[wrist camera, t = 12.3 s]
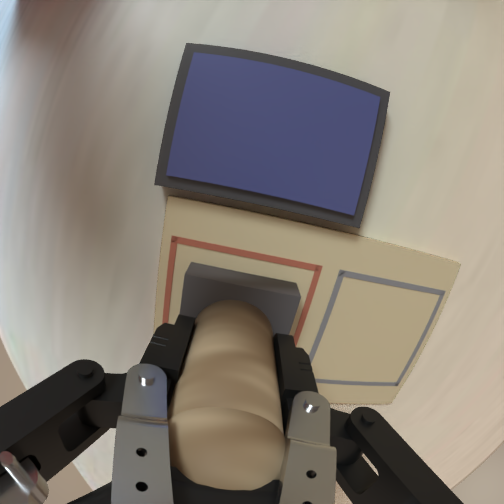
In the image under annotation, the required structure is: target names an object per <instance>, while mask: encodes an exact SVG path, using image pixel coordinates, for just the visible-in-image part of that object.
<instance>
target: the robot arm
mask: <svg viewBox="0 0 504 504" xmlns="http://www.w3.org/2000/svg"><path fill="white" fill-rule="evenodd" d="M194 325H195V317H190V316H185V315H181V314H179V315H178V317H177V319H176V322H175V324H174V325H173V324H169V323H163V324H162V325H160V326H159V327H157V329H156V331H155V333H154V335H153V337H152V339H151V341H150V343H149V345H148V347H147V349H146V351H145V353H144V355H143V357H142V359H141V361H140V363H139V364H137V365H135V366H133V367H131V368H130V369H129V370H128V372H127V373H124V374H111V373H104V370H103V368H102V367H101V365H99V364H98V363H97V362H95V361H92V360H85V359H83V360H77V361H75V362H73V363H71V364H69V365H68V366H66V367H64V368H63V369H61V370H60V371H58V372H56V373H55V374H53V375H51V376H50V377H48V378H47V379H45V380H43V381H42V382H40V383H38V384H37V385H35V386H33V387H32V388H30V389H29V390H27V391H26V392H24V393H22V394H20V395H19V396H17V397H16V398H14V399H13V400H11V401H9V402H7V403H6V404H4V405H3V406H1V407H0V504H43V503H44V501H45V500H46V499H47V497H48V494H49V488H48V484H47V481H48V480H49V479H51V478H52V477H53V476H54V475H56V474H57V473H58V472H59V471H60V470H62V469H63V468H64V467H65V466H67V465H68V464H69V463H70V462H71V461H73V460H74V459H75V458H76V457H77V456H79V455H80V454H81V453H82V452H83V451H84V450H86V449H87V448H88V447H89V446H90V445H91V444H93V443H94V442H95V441H96V440H97V439H98V438H100V437H101V436H102V435H103V434H104V433H105V432H107V431H108V430H109V429H110V428H116V436H115V447H114V458H113V472H112V481H111V482H110V483H108V484H106V485H104V486H102V487H100V488H98V489H96V490H94V491H92V492H90V493H88V494H86V495H84V496H82V497H80V498H78V499H76V500H74V501H71V502H69V503H67V504H335V486H336V481H337V482H338V484H339V485H340V487H341V488H342V489H343V491H344V492H345V494H346V495H347V496H348V498H349V499H350V500H351V502H352V503H353V504H463V503H462V501H461V500H460V499H459V498H458V497H457V496H456V495H455V494H454V493H453V492H452V491H451V490H450V489H449V488H448V487H447V486H446V485H445V484H444V482H443V481H442V480H441V479H440V478H439V477H438V476H437V475H436V474H435V473H434V472H433V471H432V470H431V469H430V468H429V467H428V465H427V464H426V463H425V462H424V461H423V460H422V459H421V458H420V457H419V456H418V455H417V454H416V453H415V452H414V450H413V449H412V448H411V447H410V446H409V445H408V444H407V443H406V442H405V441H404V440H403V439H402V437H401V436H400V435H399V434H398V433H397V432H396V431H395V430H394V429H393V428H392V427H391V426H390V424H389V423H388V422H387V421H386V420H385V419H384V418H383V417H382V416H381V415H380V414H379V413H378V412H377V411H376V410H374V409H372V408H369V407H358V408H355V409H354V410H353V411H352V412H351V414H348V413H344V412H341V411H337V410H334V409H332V408H330V404H329V402H328V400H327V399H326V398H325V397H324V396H322V395H320V394H319V392H318V388H317V384H316V381H315V377H314V373H313V372H312V371H313V369H312V366H311V362H310V358H309V355H308V354H307V353H306V352H305V350H304V349H303V348H299V347H295V342H294V338H293V336H292V335H287V334H280V333H276V334H275V335H274V338H273V341H274V350H275V358H276V367H277V376H278V384H279V393H280V402H281V411H282V420H283V430H284V437H285V452H284V457H283V461H282V465H281V469H280V480H272V481H271V482H270V483H268V484H266V485H264V486H262V487H260V488H258V489H254V490H251V491H250V490H226V489H219V488H214V487H210V486H206V485H200V484H197V483H195V482H193V481H192V480H190V479H188V478H187V477H186V476H185V475H184V474H182V473H181V472H180V471H179V470H178V469H177V467H174V466H170V455H169V435H168V420H167V412H168V409H169V405H170V402H171V398H172V395H173V391H174V388H175V386H176V384H177V382H178V379H179V375H180V372H181V369H182V365H183V362H184V358H185V355H186V352H187V348H188V345H189V342H190V339H191V335H192V332H193V329H194ZM363 453H364V454H365V455H366V457H367V458H368V459H369V460H370V462H371V463H372V464H373V465H374V466H375V468H376V469H377V471H378V474H379V476H378V475H377V474H376V473H375V472H374V471H373V469H372V468H371V467H370V466H369V464H368V463H367V462H366V461H365V459H364V458H363V457H362V456H361V455H362V454H363Z"/></svg>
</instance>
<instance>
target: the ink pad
mask: <svg viewBox="0 0 504 504" xmlns="http://www.w3.org/2000/svg"><path fill="white" fill-rule="evenodd" d="M389 96H390V92H388V91H386V90H384V89H381V88H379V87H376V86H374V85H371V84H368V83H366V82H363V81H360V80H358V79H355V78H352V77H349V76H346V75H343V74H340V73H337V72H334V71H331V70H327V69H324V68H321V67H317V66H314V65H310V64H306V63H303V62H299V61H295V60H291V59H287V58H282V57H278V56H273V55H269V54H264V53H258V52H253V51H247V50H241V49H235V48H228V47H221V46H212V45H203V44H192V43H186V46H185V49H184V53H183V56H182V60H181V63H180V67H179V71H178V74H177V78H176V82H175V86H174V90H173V94H172V98H171V102H170V106H169V111H168V115H167V120H166V124H165V129H164V134H163V139H162V144H161V149H160V155H159V160H158V166H157V172H156V178H155V184H154V185H159V186H164V187H170V188H176V189H182V190H187V191H193V192H198V193H203V194H209V195H214V196H219V197H224V198H229V199H234V200H239V201H244V202H249V203H253V204H258V205H263V206H267V207H272V208H277V209H281V210H286V211H290V212H294V213H299V214H303V215H307V216H312V217H316V218H320V219H324V220H328V221H333V222H337V223H341V224H345V225H349V226H353V227H357V228H360V224H361V221H362V217H363V214H364V210H365V206H366V203H367V199H368V195H369V191H370V187H371V183H372V179H373V175H374V171H375V166H376V162H377V158H378V153H379V148H380V144H381V139H382V134H383V129H384V124H385V119H386V113H387V107H388V102H389Z"/></svg>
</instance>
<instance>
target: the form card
mask: <svg viewBox="0 0 504 504" xmlns="http://www.w3.org/2000/svg"><path fill="white" fill-rule="evenodd" d="M191 262H195V263H200V264H204V265H209V266H214V267H219V268H224V269H229V270H234V271H239V272H244V273H249V274H254V275H259V276H264V277H269V278H274V279H279V280H284V281H290V282H295V283H297V286H298V289H299V292H300V295H301V299H300V303H299V306H298V309H297V312H296V315H295V318H294V321H293V324H292V327H291V330H290V333H289V335H292V336H293V338H294V342H295V347H299V348H303V349H304V350H305V352H306V353H307V354H308V355H309V358H310V362H311V366H312V369H313V371H312V372H313V373H314V377H315V381H316V384H317V388H318V392H319V394H320V395H322V396H324V397H325V398H326V399H327V400H328V402H329V403H341V404H389V403H392V402H393V400H394V399H395V397H396V395H397V394H398V392H399V391H400V389H401V387H402V386H403V384H404V383H405V381H406V379H407V378H408V376H409V374H410V372H411V371H412V369H413V367H414V366H415V364H416V362H417V360H418V358H419V357H420V355H421V353H422V351H423V349H424V347H425V345H426V343H427V341H428V339H429V337H430V335H431V333H432V331H433V329H434V327H435V325H436V323H437V321H438V319H439V317H440V314H441V312H442V310H443V308H444V306H445V303H446V301H447V299H448V296H449V294H450V291H451V289H452V286H453V284H454V281H455V279H456V276H457V273H458V271H459V268H460V265H461V264H460V263H458V262H455V261H452V260H448V259H445V258H441V257H438V256H434V255H431V254H427V253H423V252H420V251H416V250H412V249H409V248H405V247H401V246H397V245H394V244H390V243H386V242H382V241H378V240H374V239H370V238H366V237H362V236H358V235H354V234H350V233H346V232H342V231H338V230H334V229H330V228H325V227H321V226H317V225H312V224H308V223H304V222H299V221H295V220H290V219H286V218H281V217H277V216H272V215H268V214H263V213H258V212H253V211H249V210H244V209H239V208H234V207H229V206H224V205H219V204H214V203H209V202H203V201H198V200H193V199H188V198H182V197H177V196H171V195H169V196H168V199H167V206H166V212H165V219H164V227H163V234H162V242H161V251H160V260H159V269H158V280H157V291H156V304H155V318H154V333H155V331H156V329H157V327H159V326H160V325H162V324H163V323H169V324H173V325H174V324H175V322H176V319H177V317H178V315H179V314H180V306H181V298H182V290H183V283H184V275H185V272H186V271H187V269H188V267H189V265H190V263H191Z"/></svg>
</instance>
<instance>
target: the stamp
mask: <svg viewBox="0 0 504 504" xmlns="http://www.w3.org/2000/svg"><path fill="white" fill-rule="evenodd" d="M300 299H301V295H300V292H299V289H298V286H297V283H295V282H290V281H284V280H279V279H274V278H269V277H264V276H259V275H254V274H249V273H244V272H239V271H234V270H229V269H224V268H219V267H214V266H209V265H204V264H200V263H195V262H191V263H190V265H189V267H188V269H187V271H186V272H185V275H184V283H183V290H182V298H181V306H180V314H181V315H185V316H190V317H195V325H194V329H193V332H192V335H191V339H190V342H189V345H188V348H187V352H186V355H185V358H184V362H183V365H182V369H181V372H180V375H179V379H178V382H177V384H176V386H175V388H174V391H173V395H172V398H171V402H170V405H169V409H168V412H167V420H168V435H169V455H170V466H174V467H177V469H178V470H179V471H180V472H181V473H182V474H184V475H185V476H186V477H187V478H188V479H190V480H192V481H193V482H195V483H197V484H200V485H206V486H210V487H214V488H219V489H226V490H250V491H251V490H254V489H258V488H260V487H262V486H264V485H266V484H268V483H270V482H271V481H272V480H280V469H281V465H282V461H283V457H284V452H285V437H284V430H283V420H282V411H281V402H280V393H279V384H278V376H277V367H276V358H275V350H274V341H273V338H274V335H275V334H276V333H280V334H287V335H289V333H290V330H291V327H292V324H293V321H294V318H295V315H296V312H297V309H298V306H299V303H300Z"/></svg>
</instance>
